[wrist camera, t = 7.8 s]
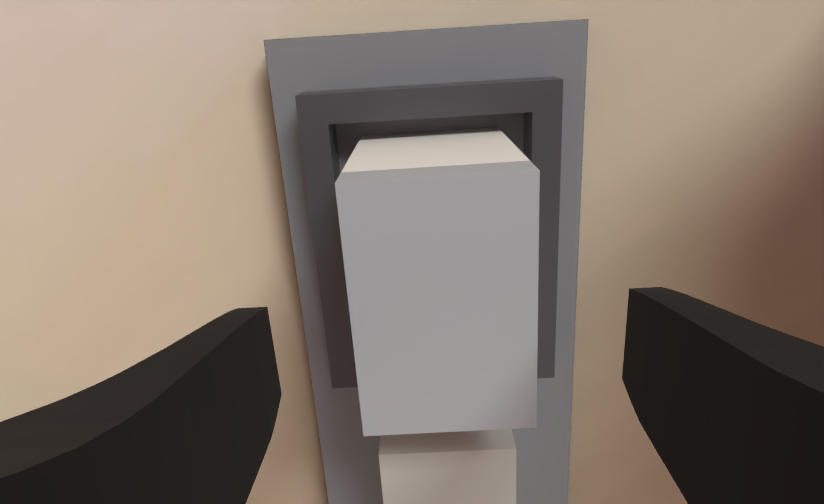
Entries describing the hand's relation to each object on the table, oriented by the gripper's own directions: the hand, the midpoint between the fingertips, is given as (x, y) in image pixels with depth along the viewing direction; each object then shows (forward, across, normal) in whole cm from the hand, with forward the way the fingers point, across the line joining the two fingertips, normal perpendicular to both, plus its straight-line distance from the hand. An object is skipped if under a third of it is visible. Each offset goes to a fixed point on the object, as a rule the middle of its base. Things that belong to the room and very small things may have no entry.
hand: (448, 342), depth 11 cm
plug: (+7, 0, 0) cm, 7 cm away
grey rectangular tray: (+8, 0, +4) cm, 9 cm away
